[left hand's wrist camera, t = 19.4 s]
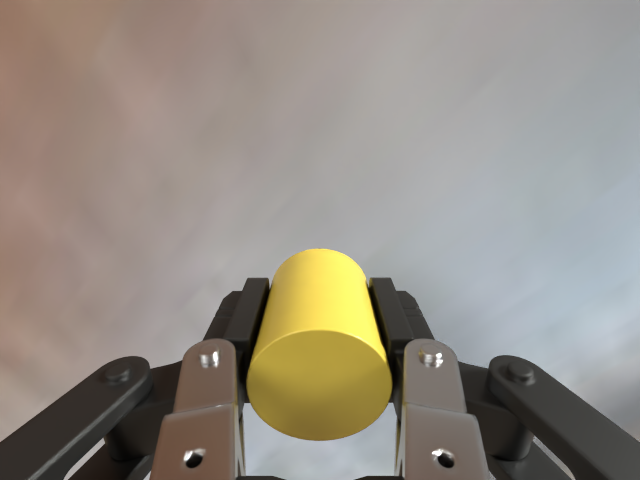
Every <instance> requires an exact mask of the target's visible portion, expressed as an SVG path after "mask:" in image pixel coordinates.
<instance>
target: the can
mask: <svg viewBox="0 0 640 480" xmlns="http://www.w3.org/2000/svg"><path fill="white" fill-rule="evenodd" d="M392 384H393V382H392V374H391V370H390V367H389V363H388V359H387V355H386V352H385V348H384V344H383V340H382V337H381V333H380V329H379V325H378V322H377V318H376V314H375V310H374V306H373V303H372V299H371V295H370V291H369V288H368V284H367V280H366V277H365V275H364V273H363V271H362V270H361V268H360V267H359V266H358V265H357V264H356V263H355V262H354V261H353V260H352V259H351V258H349V257H348V256H346V255H344V254H342V253H340V252H337V251H333V250H329V249H311V250H306V251H302V252H300V253H297V254H295V255H293V256H292V257H290V258H289V259H287V260H286V261H285V262H284V263H283V264H282V265H281V266H280V267H279V268H278V270H277V271H276V273H275V275H274V278H273V280H272V284H271V288H270V291H269V295H268V299H267V302H266V306H265V310H264V313H263V317H262V321H261V325H260V328H259V332H258V336H257V339H256V343H255V347H254V350H253V354H252V358H251V361H250V365H249V369H248V373H247V378H246V389H247V395H248V398H249V401H250V403H251V405H252V407H253V409H254V410H255V412H256V413H257V415H258V416H259V417H260V418H261V419H262V420H263V421H264V422H266V423H267V424H268V425H269V426H271V427H272V428H274V429H275V430H277V431H279V432H281V433H283V434H286V435H289V436H291V437H295V438H299V439H305V440H314V441H326V440H335V439H339V438H344V437H347V436H350V435H353V434H355V433H357V432H360V431H361V430H363V429H365V428H367V427H368V426H369V425H371V424H372V423H373V422H374V421H375V420H376V419H378V418H379V416H380V415H381V414H382V413H383V412H384V410H385V408H386V407H387V405H388V402H389V400H390V397H391V393H392Z"/></svg>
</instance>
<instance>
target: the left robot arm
mask: <svg viewBox="0 0 640 480" xmlns="http://www.w3.org/2000/svg"><path fill="white" fill-rule="evenodd" d="M269 291H270V287H269V279H268V278H247V281H246V283H245V285H244V288H243V290H242V291H232V292H231V293H230V294H229V295H227V296H226V297H225V298H224V299H223V300H222V303H221V305H220V307H219V309H218V311H217V313H216V315H215V317H214V319H213V321H212V323H211V325H210V327H209V329H208V331H207V333H206V335H205V337H204V339H203V341H201V342H199V343H197V344H195V345H193V346H192V347H191V348H190V349H188V350H187V352H186V353H185V355H184V357H183V360H181V361H179V362H176V363H173V364H170V365H165V366H161V367H157V368H152V369H150V366H149V363H148V361H147V360H146V359H144V358H142V357H138V356H129V357H123V358H119V359H116V360H113V361H111V362H109V363H107V364H105V365H104V366H102V367H101V368H99V369H98V370H97V371H95V372H94V373H92V374H91V375H90V376H88V377H87V378H86V379H84V380H83V381H82V382H80V383H79V384H78V385H76V386H75V387H74V388H72V389H71V390H70V391H68V392H67V393H66V394H64V395H63V396H62V397H60V398H59V399H58V400H56V401H55V402H54V403H52V404H51V405H50V406H48V407H47V408H46V409H44V410H43V411H42V412H40V413H39V414H38V415H36V416H35V417H34V418H32V419H31V420H29V421H28V422H27V423H25V424H24V425H23V426H21V427H20V428H19V429H17V430H16V431H15V432H13V433H12V434H11V435H9V436H8V437H7V438H5V439H4V440H3V441H1V442H0V480H63V479H64V477H65V476H66V474H67V473H68V471H69V470H70V469H71V468H72V467H73V466H74V465H75V464H76V463H77V462H78V461H79V460H80V459H81V458H82V457H83V456H84V455H85V454H86V453H87V452H88V451H89V450H90V449H91V448H92V447H94V446H95V445H96V444H97V443H98V442H99V441H100V440H101V439H102V438H104V441H105V444H104V445H103V446H102V447H101V448H100V449H99V450H98V451H97V452H96V453H95V454H94V455H93V456H92V457H91V458H90V459H89V460H88V461H87V462H86V463H85V464H84V465H83V466H82V467H81V468H80V469H78V470H77V471H76V472H75V473H74V474H73V475H72V476H71V477H70V478H69V479H68V480H143V479H144V478H145V477H146V476H147V474H148V473H149V472H150V471H151V474H150V479H149V480H285V479H281V478H278V477H274V476H246V466H245V440H244V420H243V412H242V410H243V406H244V403H250V401H249V398H248V395H247V389H246V378H247V373H248V369H249V365H250V361H251V358H252V354H253V350H254V347H255V343H256V339H257V336H258V332H259V328H260V325H261V321H262V317H263V313H264V310H265V306H266V302H267V299H268V295H269ZM369 291H370V295H371V299H372V303H373V306H374V310H375V314H376V318H377V322H378V325H379V329H380V333H381V337H382V340H383V344H384V348H385V352H386V355H387V359H388V363H389V367H390V370H391V374H392V382H393V384H392V393H391V397H390V400H389V402H388V403H394V407H395V411H396V415H397V420H396V440H395V466H394V476H366V477H362V478H359V479H355V480H491V479H490V474H489V471H490V472H491V473H492V474H493V476H494V477H495V478H496V479H497V480H572V479H571V478H570V477H569V476H568V475H567V474H566V473H565V472H564V471H563V470H561V469H560V468H559V467H558V466H557V465H556V464H555V463H554V462H553V461H552V460H551V459H550V458H549V457H548V456H547V455H546V454H545V453H544V452H543V451H542V450H541V449H540V448H539V447H538V446H537V445H536V444H535V443H534V442H533V441H532V440H533V437H534V435H535V436H536V437H537V438H538V439H539V440H540V441H541V442H542V443H543V444H544V445H545V446H546V447H547V448H549V449H550V450H551V451H552V452H553V453H554V454H555V455H556V456H557V457H558V458H559V459H560V460H561V461H562V462H563V463H564V464H565V465H566V466H567V467H568V468H569V469H570V471H571V472H572V474H573V475H574V477H575V479H576V480H640V442H639V441H637V440H636V439H635V438H633V437H632V436H631V435H629V434H628V433H627V432H625V431H624V430H623V429H621V428H620V427H619V426H617V425H616V424H615V423H613V422H612V421H610V420H609V419H608V418H606V417H605V416H604V415H602V414H601V413H600V412H598V411H597V410H596V409H594V408H593V407H592V406H590V405H589V404H588V403H586V402H585V401H584V400H582V399H581V398H580V397H578V396H577V395H576V394H574V393H573V392H572V391H570V390H569V389H568V388H566V387H565V386H564V385H562V384H561V383H560V382H558V381H557V380H556V379H554V378H553V377H552V376H550V375H549V374H548V373H546V372H545V371H543V370H542V369H541V368H539V367H538V366H537V365H535V364H533V363H531V362H530V361H527V360H525V359H522V358H519V357H515V356H509V355H502V356H497V357H495V358H493V359H492V360H491V361H490V364H489V368H488V369H487V368H483V367H478V366H474V365H469V364H466V363H462V362H459V361H457V357H456V355H455V353H454V352H453V350H452V349H450V348H449V347H448V346H447V345H445V344H443V343H441V342H439V341H436V340H435V339H434V337H433V335H432V333H431V331H430V329H429V327H428V325H427V323H426V321H425V318H424V317H423V314H422V312H421V310H420V309H419V306H418V304H417V302H416V300H415V298H413V297H412V296H411V295H410V294H409V293H407V292H406V291H396V290H395V287H394V285H393V282H392V280H391V278H370V280H369Z"/></svg>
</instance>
